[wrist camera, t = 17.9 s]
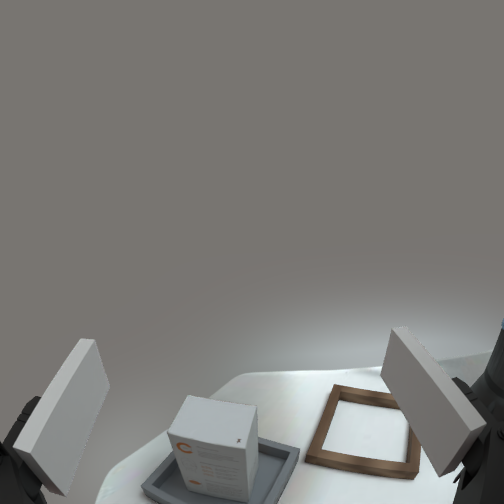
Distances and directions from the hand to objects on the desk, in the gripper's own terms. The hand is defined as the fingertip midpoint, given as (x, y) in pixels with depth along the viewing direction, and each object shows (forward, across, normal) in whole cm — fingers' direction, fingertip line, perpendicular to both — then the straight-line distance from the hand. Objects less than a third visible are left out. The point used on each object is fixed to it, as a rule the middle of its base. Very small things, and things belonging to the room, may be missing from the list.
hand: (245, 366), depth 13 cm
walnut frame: (+17, +19, -30) cm, 39 cm away
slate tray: (+11, -3, -30) cm, 32 cm away
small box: (+11, -3, -29) cm, 32 cm away
